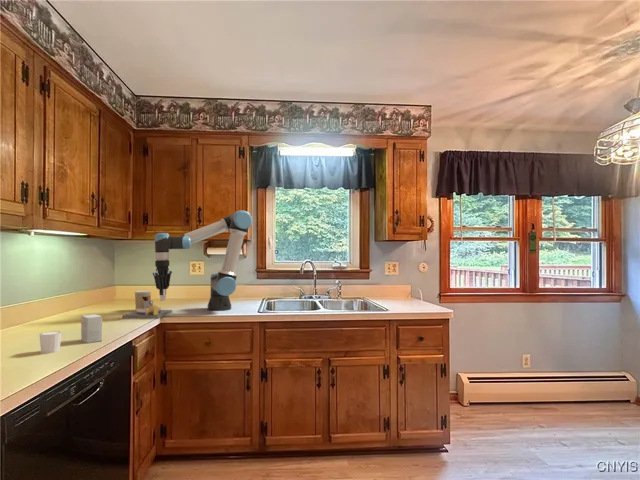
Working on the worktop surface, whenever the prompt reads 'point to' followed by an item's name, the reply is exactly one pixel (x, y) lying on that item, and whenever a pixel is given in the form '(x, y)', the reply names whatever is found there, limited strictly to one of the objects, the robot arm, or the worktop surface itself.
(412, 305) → the worktop surface
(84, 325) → the small box
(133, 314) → the base plate
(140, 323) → the worktop surface
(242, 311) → the worktop surface
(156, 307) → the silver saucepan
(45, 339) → the shot glass
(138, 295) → the coffee cup
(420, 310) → the worktop surface
